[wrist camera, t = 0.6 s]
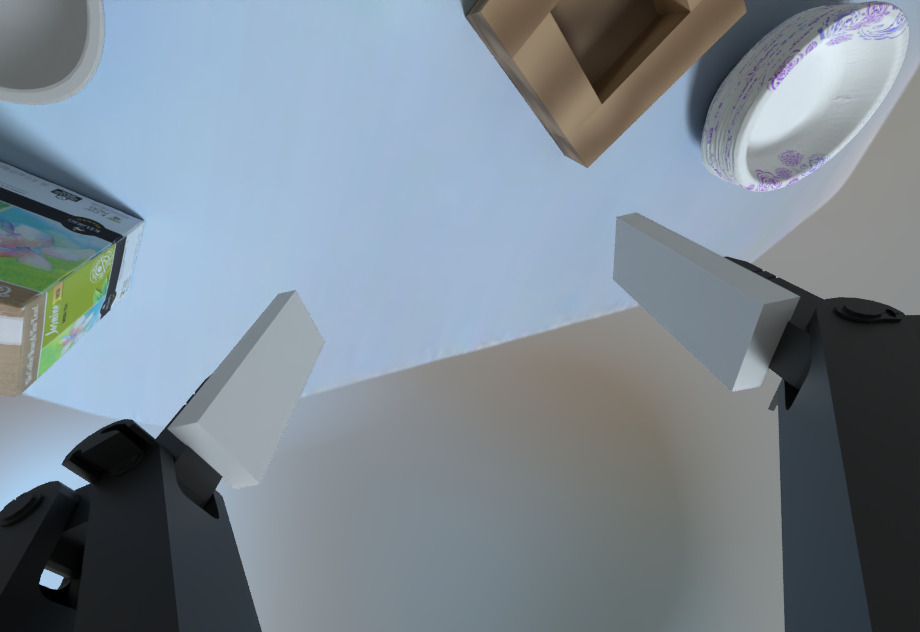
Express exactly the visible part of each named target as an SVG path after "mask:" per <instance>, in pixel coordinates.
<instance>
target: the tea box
mask: <svg viewBox="0 0 920 632" xmlns="http://www.w3.org/2000/svg"><path fill="white" fill-rule="evenodd" d="M144 224H145V221H143V220H140V219H137V218H134V217H132V216H130V215H127V214H125V213H123V212H121V211H119V210H116V209H114V208H112V207H109V206H107V205H104V204H102V203H99V202H96V201H94V200H91V199H89V198H87V197H84V196H82V195H79V194H77V193H75V192H73V191H71V190H68V189H66V188H63V187H61V186H58V185H56V184H53V183H51V182H48V181H45V180H43V179H41V178H38V177H36V176H33V175H31V174H28V173H26V172H24V171H22V170H20V169H18V168H15V167H13V166H11V165H8V164H5V163H3V162H0V395H5V396H11V397H16V396H19V395H20V394H21V393H22V392H23V391H24V390H26V389H27V388H28V387H29V386H30V385H31V384H32V383H33V382H34V381H36V380H37V379H38V378H39V377H40V376H41V375H42V374H43V373H44V372H45V371H46V370H47V369H48V368H50V367H51V366H52V365H53V364H54V363H55V362H56V361H57V360H58V359H59V358H60V357H61V356H62V355H63V354H64V353H66V352H67V351H68V350H69V349H70V348H71V347H72V346H73V345H74V344H75V343H76V342H77V341H78V340H79V339H80V338H81V337H82V336H84V335H85V334H86V333H87V332H88V331H89V330H90V329H91V328H92V327H93V326H94V325H95V324H96V323H97V322H98V321H99V320H100V319H101V318H102V317H103V316H104V315H106V314H107V312H108V311H110V310H111V309H112V308H113V307H114V306H115V305H116V304H117V303H118V302H119V301H120V300H121V299H122V298H123V297H124V296H125V295H126V294H127V293H128V292H129V288H130V285H131V279H132V273H133V269H134V265H135V261H136V257H137V252H138V248H139V244H140V240H141V237H142V232H143V228H144Z"/></svg>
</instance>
